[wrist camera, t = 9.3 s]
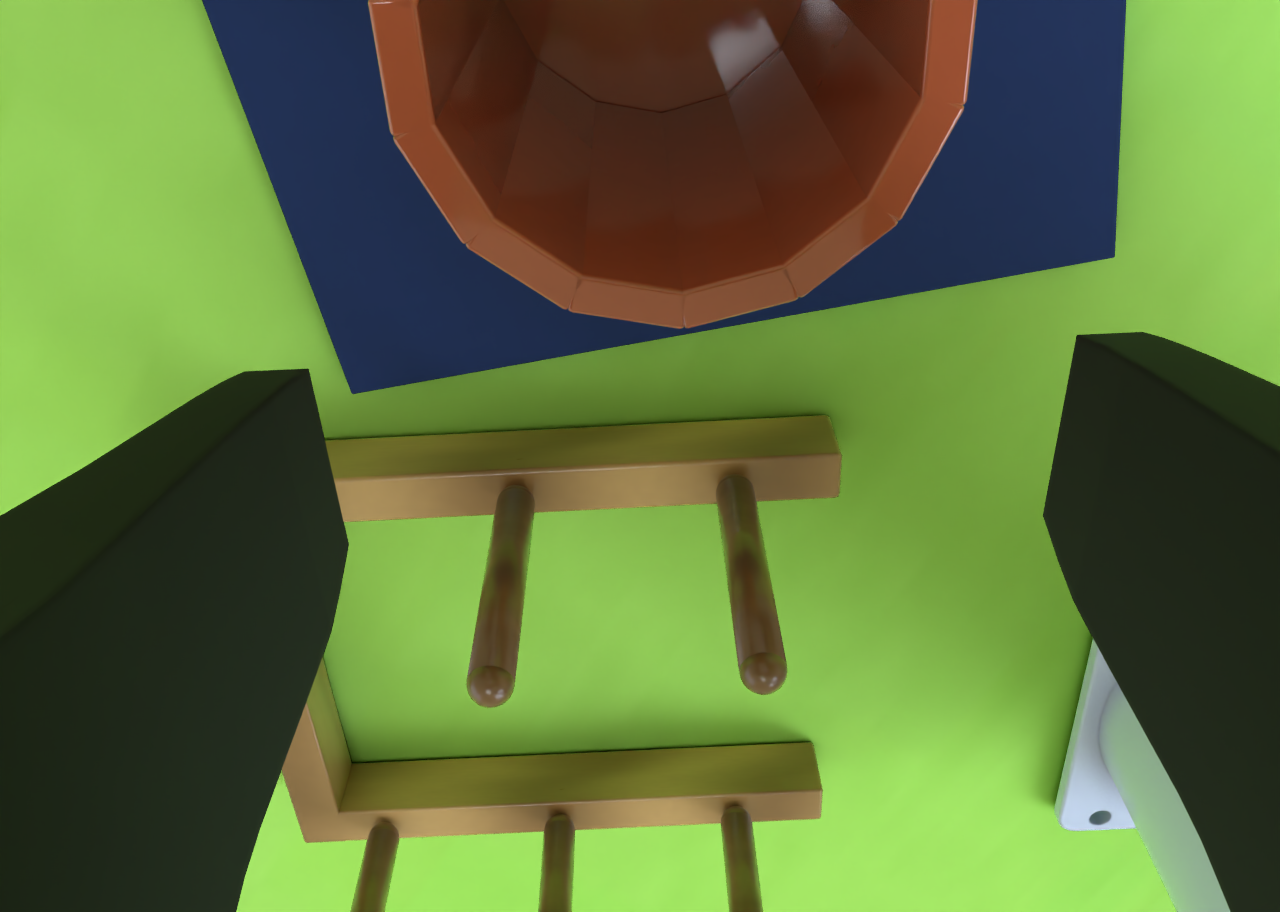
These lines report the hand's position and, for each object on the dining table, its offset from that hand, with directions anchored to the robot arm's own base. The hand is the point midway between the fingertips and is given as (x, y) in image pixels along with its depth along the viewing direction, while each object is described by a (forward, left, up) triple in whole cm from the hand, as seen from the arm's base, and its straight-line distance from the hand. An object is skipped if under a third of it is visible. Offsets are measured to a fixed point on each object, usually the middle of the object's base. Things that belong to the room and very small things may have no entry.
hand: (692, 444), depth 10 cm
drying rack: (+3, +10, -9) cm, 14 cm away
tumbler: (0, -3, -9) cm, 10 cm away
